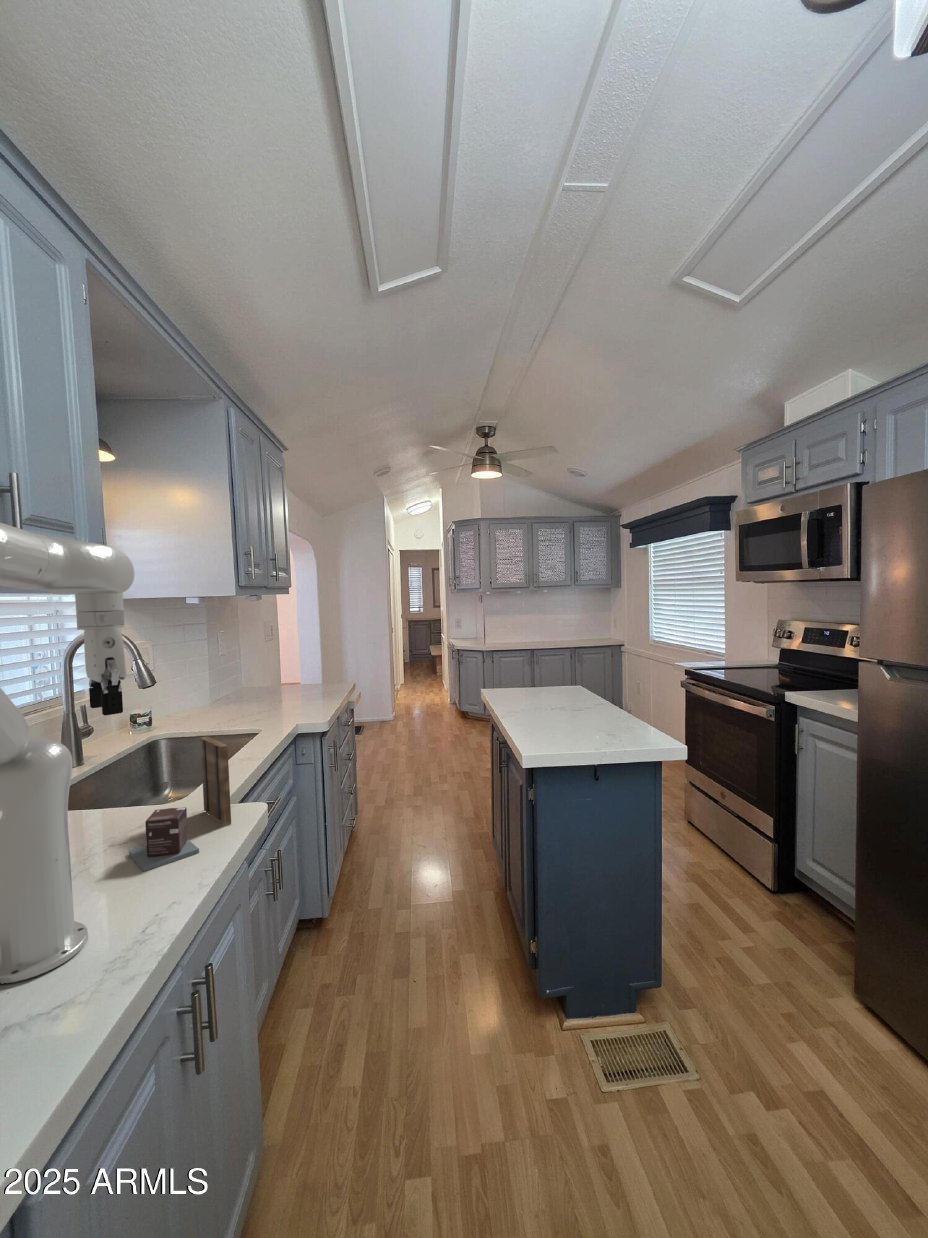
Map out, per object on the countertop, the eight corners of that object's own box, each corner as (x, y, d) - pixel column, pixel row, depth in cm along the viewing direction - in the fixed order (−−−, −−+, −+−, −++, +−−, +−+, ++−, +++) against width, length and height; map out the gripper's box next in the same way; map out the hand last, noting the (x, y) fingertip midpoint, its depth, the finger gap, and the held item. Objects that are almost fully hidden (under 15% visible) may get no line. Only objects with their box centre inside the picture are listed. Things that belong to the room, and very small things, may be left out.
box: (146, 858, 106) (144, 821, 106) (156, 844, 112) (154, 809, 112) (179, 854, 108) (178, 818, 107) (188, 840, 113) (186, 806, 113)
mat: (143, 871, 103) (143, 867, 103) (128, 854, 110) (128, 850, 110) (199, 852, 110) (199, 849, 110) (182, 837, 117) (181, 834, 117)
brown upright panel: (175, 841, 115) (171, 757, 114) (157, 825, 123) (153, 747, 122) (231, 824, 123) (227, 745, 122) (211, 810, 132) (207, 736, 131)
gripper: (136, 620, 100) (141, 713, 100) (112, 619, 112) (117, 701, 113) (87, 623, 94) (93, 721, 95) (67, 621, 106) (73, 707, 107)
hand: (106, 710), depth 104 cm, fingers open, 9 cm apart
